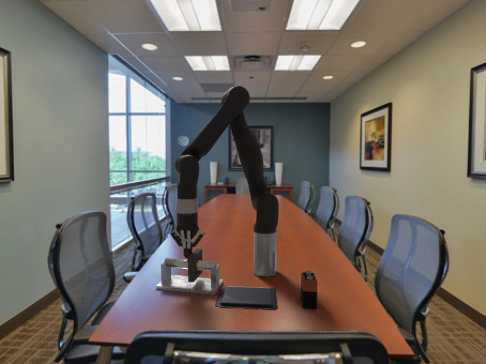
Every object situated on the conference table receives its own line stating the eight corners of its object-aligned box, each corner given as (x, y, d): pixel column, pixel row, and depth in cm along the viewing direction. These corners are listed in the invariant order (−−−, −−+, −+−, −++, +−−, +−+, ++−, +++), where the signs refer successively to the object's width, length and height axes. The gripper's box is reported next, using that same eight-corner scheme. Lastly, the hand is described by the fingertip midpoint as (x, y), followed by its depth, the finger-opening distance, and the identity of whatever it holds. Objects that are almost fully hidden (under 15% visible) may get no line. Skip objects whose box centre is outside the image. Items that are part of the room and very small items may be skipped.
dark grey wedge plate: (202, 272, 105) (202, 249, 104) (193, 282, 96) (193, 257, 95) (197, 271, 105) (197, 248, 104) (188, 281, 96) (187, 256, 96)
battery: (313, 298, 92) (314, 269, 91) (317, 309, 85) (317, 278, 84) (300, 298, 92) (301, 269, 92) (302, 308, 86) (303, 277, 85)
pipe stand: (223, 282, 104) (223, 257, 103) (215, 295, 94) (215, 267, 93) (169, 277, 108) (168, 252, 107) (155, 288, 98) (155, 261, 98)
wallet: (213, 303, 86) (222, 282, 101) (213, 309, 86) (222, 287, 101) (278, 307, 84) (277, 285, 99) (278, 313, 84) (276, 290, 99)
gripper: (208, 209, 102) (208, 255, 103) (175, 208, 104) (175, 253, 106) (201, 213, 94) (201, 262, 96) (165, 211, 97) (166, 260, 98)
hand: (187, 257), depth 101 cm, fingers closed
